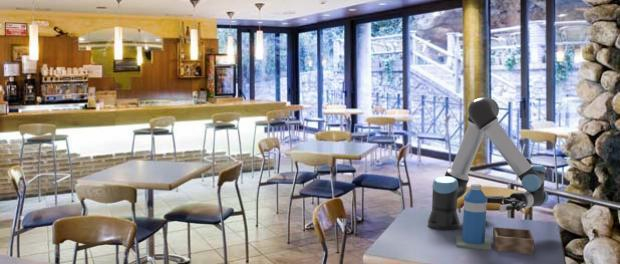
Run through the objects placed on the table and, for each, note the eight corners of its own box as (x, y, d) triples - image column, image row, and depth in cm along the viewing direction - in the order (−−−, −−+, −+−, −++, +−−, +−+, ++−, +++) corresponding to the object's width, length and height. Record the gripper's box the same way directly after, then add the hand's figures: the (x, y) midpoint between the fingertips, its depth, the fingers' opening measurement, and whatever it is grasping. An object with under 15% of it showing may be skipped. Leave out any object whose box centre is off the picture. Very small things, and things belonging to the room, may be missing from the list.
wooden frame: (495, 250, 226) (495, 236, 225) (492, 240, 240) (493, 227, 240) (533, 254, 222) (534, 239, 221) (528, 243, 236) (529, 230, 236)
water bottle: (473, 245, 229) (476, 187, 226) (457, 239, 237) (460, 183, 234) (489, 242, 233) (492, 185, 230) (473, 236, 241) (476, 181, 239)
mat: (456, 246, 230) (456, 244, 230) (456, 237, 244) (456, 235, 244) (491, 249, 227) (491, 247, 227) (489, 240, 240) (489, 238, 240)
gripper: (543, 214, 237) (510, 220, 227) (498, 202, 259) (466, 207, 248) (544, 197, 236) (511, 202, 226) (499, 187, 258) (467, 191, 248)
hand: (487, 205), depth 237 cm, fingers open, 13 cm apart
